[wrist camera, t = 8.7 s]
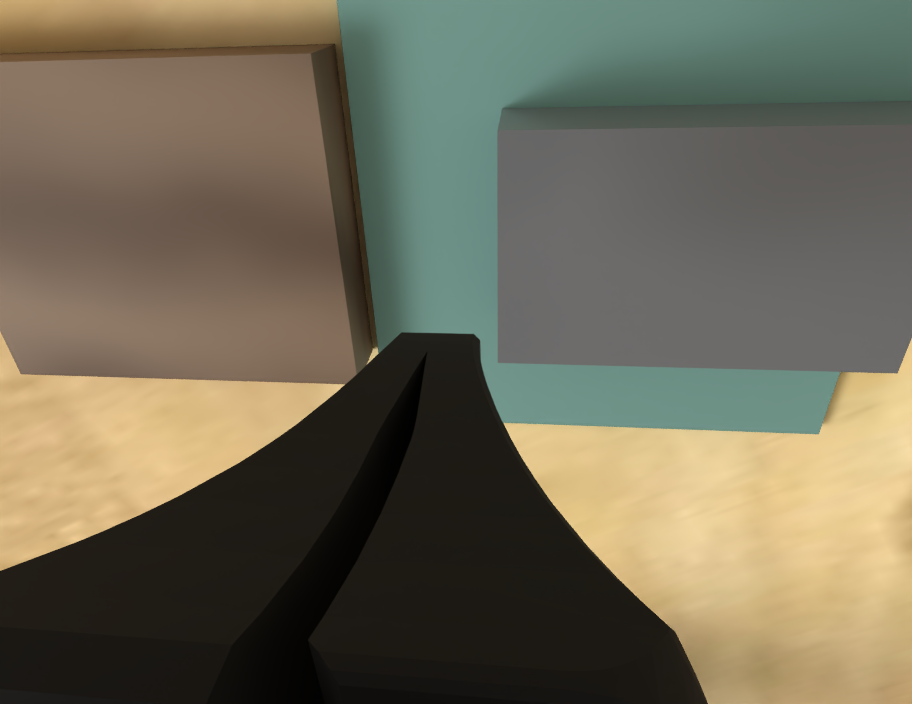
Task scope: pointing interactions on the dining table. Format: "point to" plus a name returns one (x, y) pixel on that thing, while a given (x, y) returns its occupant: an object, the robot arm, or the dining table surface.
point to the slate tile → (706, 236)
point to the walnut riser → (180, 216)
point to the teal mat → (577, 85)
